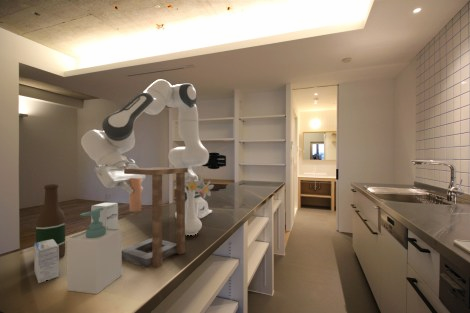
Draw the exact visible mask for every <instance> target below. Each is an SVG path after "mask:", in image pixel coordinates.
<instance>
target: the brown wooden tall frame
mask: <svg viewBox="0 0 470 313" xmlns="http://www.w3.org/2000/svg"><path fill="white" fill-rule="evenodd" d="M185 172H188V168H175V167H163V166H161V167H159V166H157V167H139V168H135V169H124V174H142V175H145V176H151V177H152V178H151V181H152V184H151V187H152V188H151V192H152V194H151V196H152V201H151V204H152V206H151V210H152V211H151V212H152V213H151V216H152V217H151V219H152V220H151V222H152V224H151V225H152V226H151V227H152V228H151V229H152V232H151V233H152V235H151V236H152V237H151V238H148V239H145V240H143V241H141V242H139V243H138V242H137V243H136V244H133V245H131V246H127V247H125V248H123V249H122V261H123V260H124V261H127V262H130V263H132V264H135V265H138V266H140V267H143V268H146V269H149V268H150V267H154V268H157V269H158V268H159V267H161V266H163V261H164V260H165V259H167V258H169V257H171V256H173V255H174V254H178V255H182V254H183V255H184V253H186V235H185ZM172 174H174V175H175V174H176V175H175V178H176V180H175V182H176V189H175V191H176V192H175V195H176V198H175V202H176V204H175V206H176V207H175V208H176V209H175V210H176V211H175V213H176V217H175V219H176V222H175V223H176V225H175V227H176V228H175V229H176V232H175V233H176V234H175V235H176V238H175V240H176V241H175V242H176V243H175V242H171V241H168V240H163V175H172ZM150 250H152V251H150ZM147 251H150V252H149V253H147Z"/></svg>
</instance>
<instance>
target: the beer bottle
mask: <svg viewBox="0 0 470 313" xmlns="http://www.w3.org/2000/svg"><path fill="white" fill-rule="evenodd" d="M58 188H59V185H58V184H57V183H50V184H45V185H44V188H43V189H44V190H45V191H44V200H43V201H44V203H43V209H42V211H41V212H40V213H39V214H38V217H37V219H36V223H35V224H36V225H35V243H38V242H42V241H46V240H51V239H54V241H55V242H56V243H57V245H58V246H59V259H61V258H63V257H65V256H66V217H65V216H66V215H65V213H64V211H63V210H62V209H61V208H60V205H59V195H58Z"/></svg>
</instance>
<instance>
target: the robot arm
mask: <svg viewBox="0 0 470 313" xmlns="http://www.w3.org/2000/svg"><path fill="white" fill-rule="evenodd" d="M197 100H198V93H197V89H196V88H195V86H194V85H193V84H191V83H187V82H185V83H180V84H175V85H172V84H171V83H170V82H169V81H167V80H166V79H157V80H155V81H154V82H153V83H151V84H150V85H149V86H148V87H147V88H146V89H145V90H143V92H141V93H138V94H137V95H136V96H134V97H133V98H132V99H131V100H129V101H128V102H127V103H126V104H125V105H124V106H122V107H121V108H120V109H119V110H117V111H115V112H113V113H110V114H109V115H107V116H106V117H105V118H104V119H103V121H102V122H101V124H102V125H101V127H102V130H99V129H98V130H97V129H90V130H88V131H86V132H85V134H83V135H82V138H81V139H80V142H81V143H80V144H81V146H82V149H83V150H84V151H85V153H86V154H87V155H88V157H89V158H90V159H91V160H93V161H94V162H95V163H96V165H95V166H94V169H93V171H94V172H95V173H96V176H97V177H98V180H99V181H100V183H101V184H102V185H103V187H105V188H107V189H112V188H118V187H120V189H122V190H124V191H125V192H127V193H128V194H129V195H130V194H132V193H133V192H135V190H134V189H133V187H130V178H142V182H144V181H145V179H146V178H147V177H146V176H147V175H142V174H124V169H135V168H140V167H139V166H138V165H137V164H136V161H135V160H134V159H132V158H129V157H126V156H125V155H124V154H126V153H128V152H130V151H132V150H133V149H134V148H135V146H136V137H135V130H134V128H135V127H134V126H135V122H136V120H137V119H138V118H139V117H140V116H141V115H143V113H145V114H147V115H151V116H156V115H159V114H160V113H161V112H162V111H163V109H165V108H166V109H173V108H177V110H178V124H177V125H178V126H177V128H178V129H177V133H178V136H179V137H180V139H182V140H183V142H184V145H185V146H177V147H173V148H171V149H170V150H169V152H168V161H169V163H171V165H172V167H173V168H188V172H185V178H186V177H187V176H190V177H193V178H194V176H196V177H197V181H198V180H199V177H198V175H197V173H195V172H194V170H193V169H192V168H193V167H199V166H204V165H206V164H207V163H208V162H209V159H210V154H209V151H208V149H207V148H206V147H205V145H203V143H202V141H201V139H200V133H199V112H198V106H197V105H196V103H197ZM189 180H190V179H189ZM188 188H189V187H188ZM186 189H187V188H186V187H185V216H186V213H187V193H186ZM143 190H144V187H143V186H142V191H143ZM201 195H204V192H203V190H201V189H200V192H196V191H195V197H194V204H195V213H196V216H197V218H198V219H199V220H200V219H203V218H204V217H207V216H209V214H212V213H213V210H212V209H209V204H208V202H207V200H205V198H203V197H202V196H201ZM174 214H175V217H174V218H176V212H175V213H174Z"/></svg>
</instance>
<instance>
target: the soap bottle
mask: <svg viewBox="0 0 470 313" xmlns="http://www.w3.org/2000/svg"><path fill="white" fill-rule="evenodd" d="M102 210H103V208H98V209H96V210H93V211H91V210H90V211H87V212H83V213H80V214H79V217H86V216H90V217H91V216H92V219H93V223H91V222H90V223H89V225H88V226H89V228H87V229H85V231H83V232H81V233H77V234H75V235H73V236H70V237H68V238H67V239H66V265H67V266H66V291H70V292H77V293H83V294H86V293H87V294H93V295H99V293H101V291H103V290H104V289H106V288H107V287H108V286H110V285H111V284H112V283H114V282H115V281H116V280H118V279H119V278H120V277H121V276H122V275H123V274H122V273H123V272H122V267H123V266H122V263H123V259H122V250H123V249H122V248H123V247H122V245H123V244H122V240H123V239H122V238H123V237H122V232H123V230H122V228H118V229H111V228H106V227H105V226H103V223H102V222H99V218H100V211H102Z"/></svg>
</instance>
